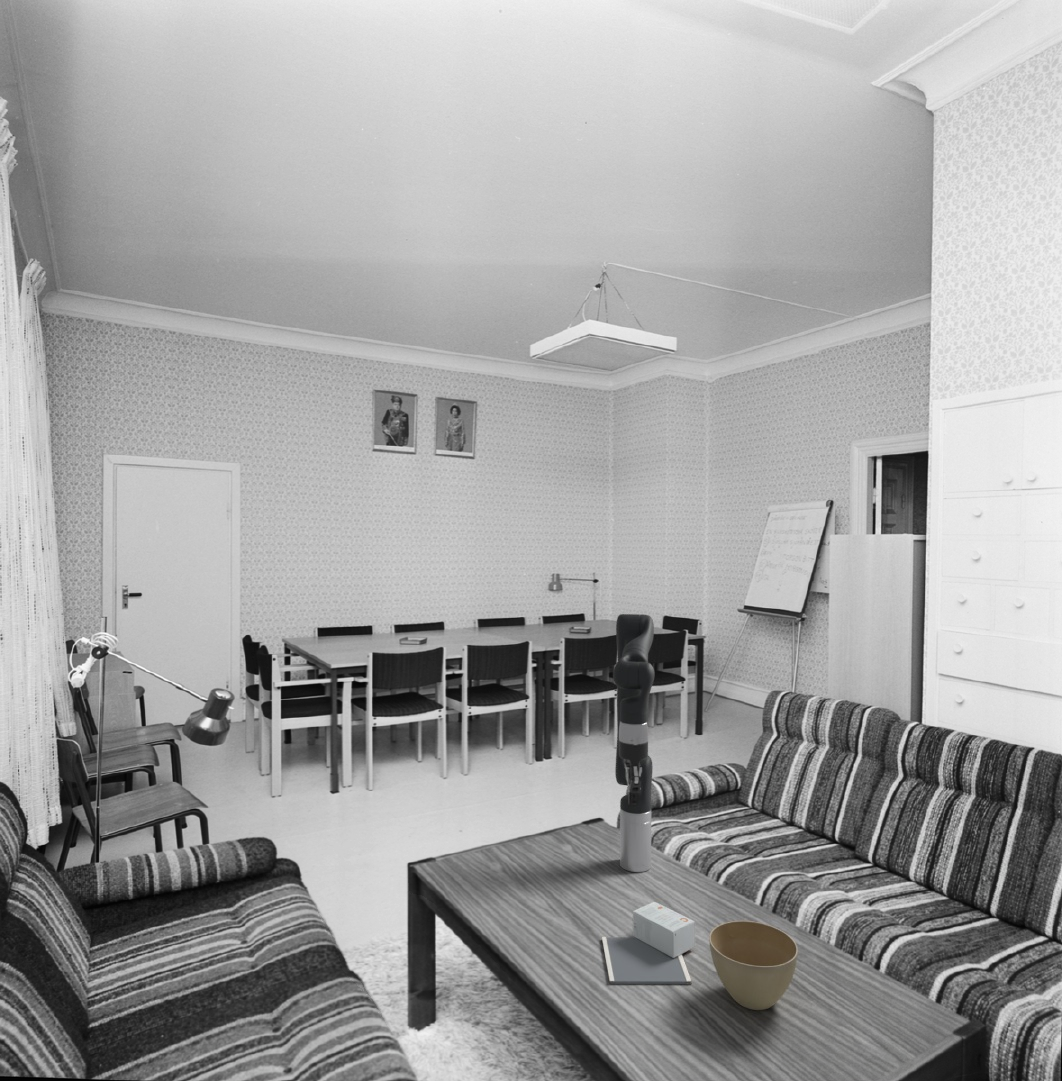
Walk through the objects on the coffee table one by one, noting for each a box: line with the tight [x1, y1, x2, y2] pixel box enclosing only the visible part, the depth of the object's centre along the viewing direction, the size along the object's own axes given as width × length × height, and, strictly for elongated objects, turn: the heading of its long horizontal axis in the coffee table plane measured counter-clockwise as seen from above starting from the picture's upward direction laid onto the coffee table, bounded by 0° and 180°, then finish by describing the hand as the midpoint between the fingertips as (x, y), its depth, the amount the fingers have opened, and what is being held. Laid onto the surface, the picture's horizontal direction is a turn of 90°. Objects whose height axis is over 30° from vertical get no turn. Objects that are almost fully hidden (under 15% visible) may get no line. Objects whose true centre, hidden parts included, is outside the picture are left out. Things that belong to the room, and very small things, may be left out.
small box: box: [632, 901, 696, 958], centre depth 181 cm, size 8×6×13 cm
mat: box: [601, 936, 692, 985], centre depth 174 cm, size 18×18×1 cm
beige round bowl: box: [708, 920, 799, 1011], centre depth 160 cm, size 18×18×12 cm
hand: (633, 805), depth 194 cm, fingers closed
